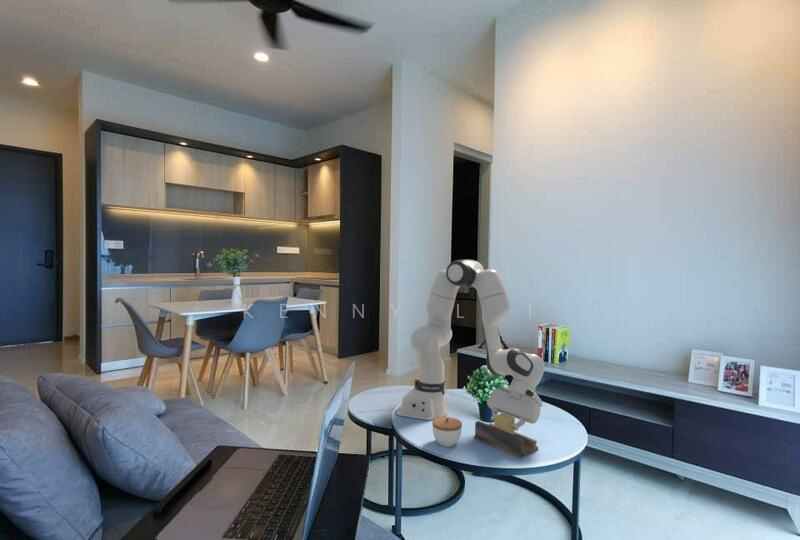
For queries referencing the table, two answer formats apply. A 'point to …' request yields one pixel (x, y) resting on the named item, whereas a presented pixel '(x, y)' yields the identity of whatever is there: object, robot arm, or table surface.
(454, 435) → the lidded jar
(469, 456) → the table surface
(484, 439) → the base
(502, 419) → the ochre block
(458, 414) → the table surface
